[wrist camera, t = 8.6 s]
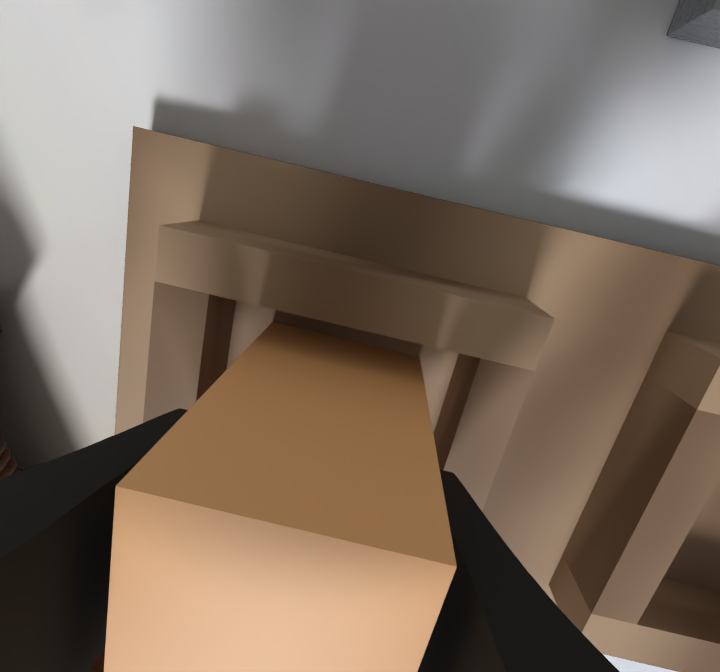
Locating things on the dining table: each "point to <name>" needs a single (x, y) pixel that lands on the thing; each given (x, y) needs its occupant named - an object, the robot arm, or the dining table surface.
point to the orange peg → (285, 520)
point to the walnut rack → (464, 364)
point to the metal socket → (697, 22)
